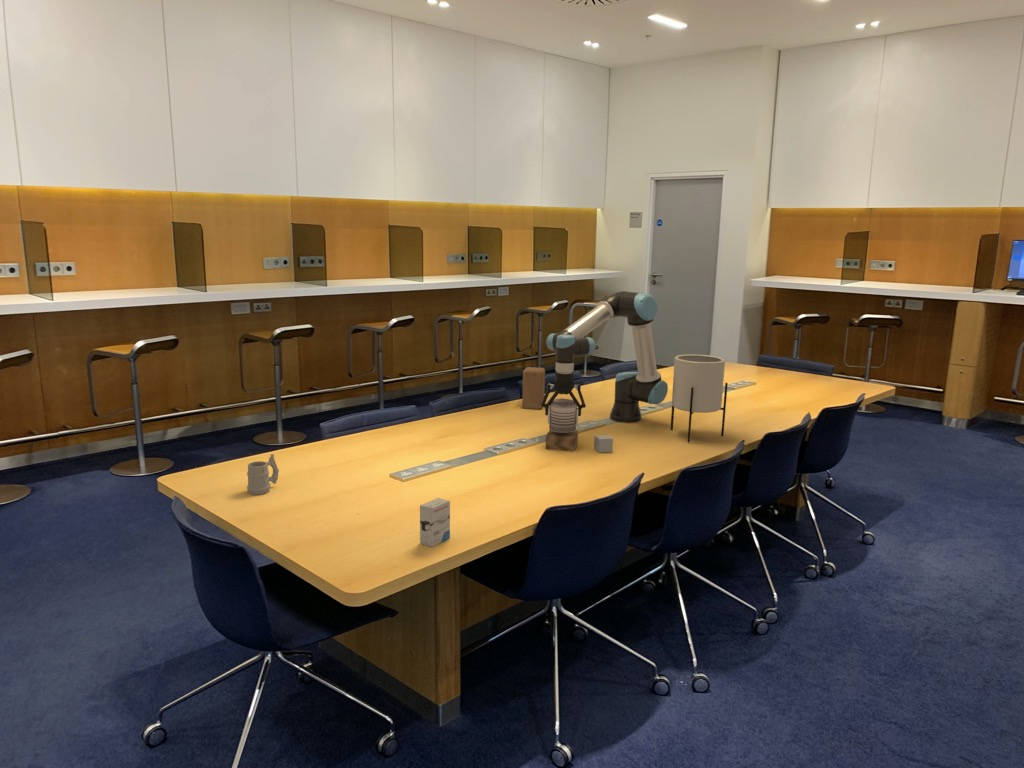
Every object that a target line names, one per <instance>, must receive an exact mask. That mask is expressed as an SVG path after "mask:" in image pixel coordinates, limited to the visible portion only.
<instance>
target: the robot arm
mask: <svg viewBox="0 0 1024 768" xmlns="http://www.w3.org/2000/svg"><path fill="white" fill-rule="evenodd" d="M657 312H658V303H657V300H656V297H654V296H653V295H651V294H650V293H645V292H634V291H633V292H632V291H627V290H624V291H622V290H621V291H617V292H615V293H611V295H608V296H607V297H605V298H603V299H601V300H600V301H599V302H598V303H597V304H596V307H594V308H593V309H591V310H589V312H587V313H585V314H584V315H583V316H582V317H580V318H579V319H577V320H575V321H574V322H573V323H572V324H570V325H569V326H567V327H566V328H565V329H564V330H562V331H559V333H550V334H549V335H548V336H547V338H546V343H545V344H546V346H547V348H548V350H551V351H553V352H555V369H554V370H555V373H554V374H555V376H554V377H555V378H554V384H552V383H550V382H549V383H547V389H546V391H545V392H544V398H543V401H542V403H541V406H542V408H544V409H545V410H544V414H545V416H547V424H548V425H549V424H550V403H552V402H553V400H554V399H557V397H558V395H569V396H570V397H571V400H574V402H575V403H576V405H577V411H576V425H579V417H581V416H582V409H583V408H586V402H585V400H584V397H583V394H582V391H581V384H580V383H578V384H574V373H573V372H574V371H575V370H574V368H575V358H576V357H586V356H589V355H592V354H593V353H594V352H595V350H596V342H595V341H594V340H595V339H593V338H592V337H586V335H588V334H590V333H591V332H592V331H593V330H595V329H597V328H598V327H599V326H600V325H602V324H603V323H605V322H606V321H611V320H612V319H614V318H618V317H622V318H626V321H627V325H628V326H630V327H631V332H632V337H633V338H632V339H633V346H634V352H635V358H636V367H637V371H625V372H623V371H622V372H619V373H617V374H616V375H615V382H614V402H613V406H612V408H611V411H610V413H609V414H610V415H609V419H610V420H612V421H615V422H618V423H631V424H632V423H638V422H641V421H642V411H641V408H640V404H639V403H640V402H642V403H645V404H649V405H660V404H661V403H662V402H664V400H665V399H666V397H667V395H668V391H669V390H668V389H669V386H668V383H667V382H666V381H665V380H662V375H661V373H660V372H659V371H658V368H657V362H656V353H655V347H654V339H653V333H652V323H653V322H654V319H655V317H656V316H657ZM553 388H554V390H555V391H554V392H553V394H552V396H551V397H550V398H549V399H548V397H549V395H550V393H551V390H553ZM574 389H575V390H576V391H577V393H578V396H579V400H580V402H581V404H580V402H579V401H578V399H577V398H576V396H575V394H574V392H573V390H574ZM547 400H548V401H547Z"/></svg>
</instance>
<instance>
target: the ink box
mask: <svg viewBox="0 0 1024 768" xmlns="http://www.w3.org/2000/svg"><path fill="white" fill-rule="evenodd" d="M450 538H451V501H450V500H448V499H445V498H444V499H443V498H440V497H437V498H435V499H433V500H430V501H427V502H424V503H423V504H419V544H422V545H425V546H428V547H431V548H433V547H435V546H437V545H439V544H440V543H442V542H444V541H446V540H448V539H450Z"/></svg>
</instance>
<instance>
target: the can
mask: <svg viewBox="0 0 1024 768" xmlns="http://www.w3.org/2000/svg"><path fill="white" fill-rule="evenodd" d="M549 407H550V424H548V425H549V426H548V428H549V430H551V431H554V432H558V433H569V432H574V431H575V430H577V424H576V411H577V408H578V407H577V405H576V403H575V402H574V400H573V399H570V398H569V399H568V398H555V399H554V400H553V402H552V403H550V406H549Z"/></svg>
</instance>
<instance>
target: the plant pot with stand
mask: <svg viewBox="0 0 1024 768" xmlns="http://www.w3.org/2000/svg"><path fill="white" fill-rule="evenodd" d="M673 362H674V363H673V378H672V393H671V395H672V396H671V416H670V417H671V418H670V431H673V430H674V415H675V409H677V410H680V411H684V412H689V417H688V427H687V431H688V433H687V442H691V427H692V417H693V414H694V413H704V414H705V413H715V412H718V411H722V418H721V419H722V422H721V430H720V431H721V435H720V437H722V436H723V437H724V432H725V423H726V422H725V421H726V420H725V419H726V408H727V397H728V396H727V395H728V394H727V393H728V382H725V384H724V378H725V368H726V359H724V358H722V357H720V356H715V355H709V354H708V355H707V354H697V353H696V354H695V353H694V354H678V355H676V356H674V359H673ZM723 390H724V391H723ZM723 392H724V397H723ZM722 401H723V402H722ZM722 403H723V407H722Z"/></svg>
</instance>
